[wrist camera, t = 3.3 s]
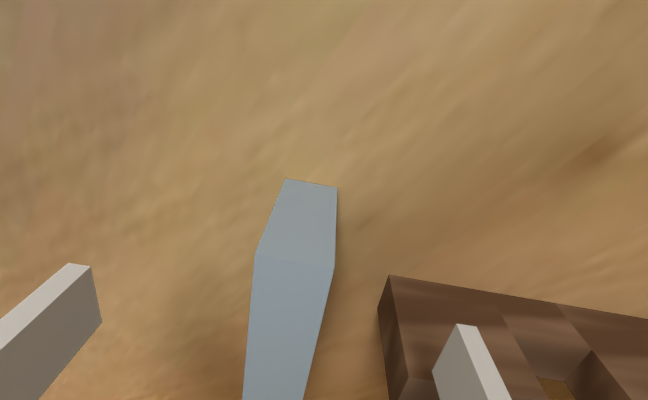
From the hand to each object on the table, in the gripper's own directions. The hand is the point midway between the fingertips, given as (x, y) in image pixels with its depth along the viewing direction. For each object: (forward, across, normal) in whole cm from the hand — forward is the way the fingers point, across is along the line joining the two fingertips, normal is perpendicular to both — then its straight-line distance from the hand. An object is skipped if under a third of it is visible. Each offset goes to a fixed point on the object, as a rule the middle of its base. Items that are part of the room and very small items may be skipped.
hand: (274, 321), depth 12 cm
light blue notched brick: (+8, 0, -4) cm, 9 cm away
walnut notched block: (+8, +16, -5) cm, 18 cm away
